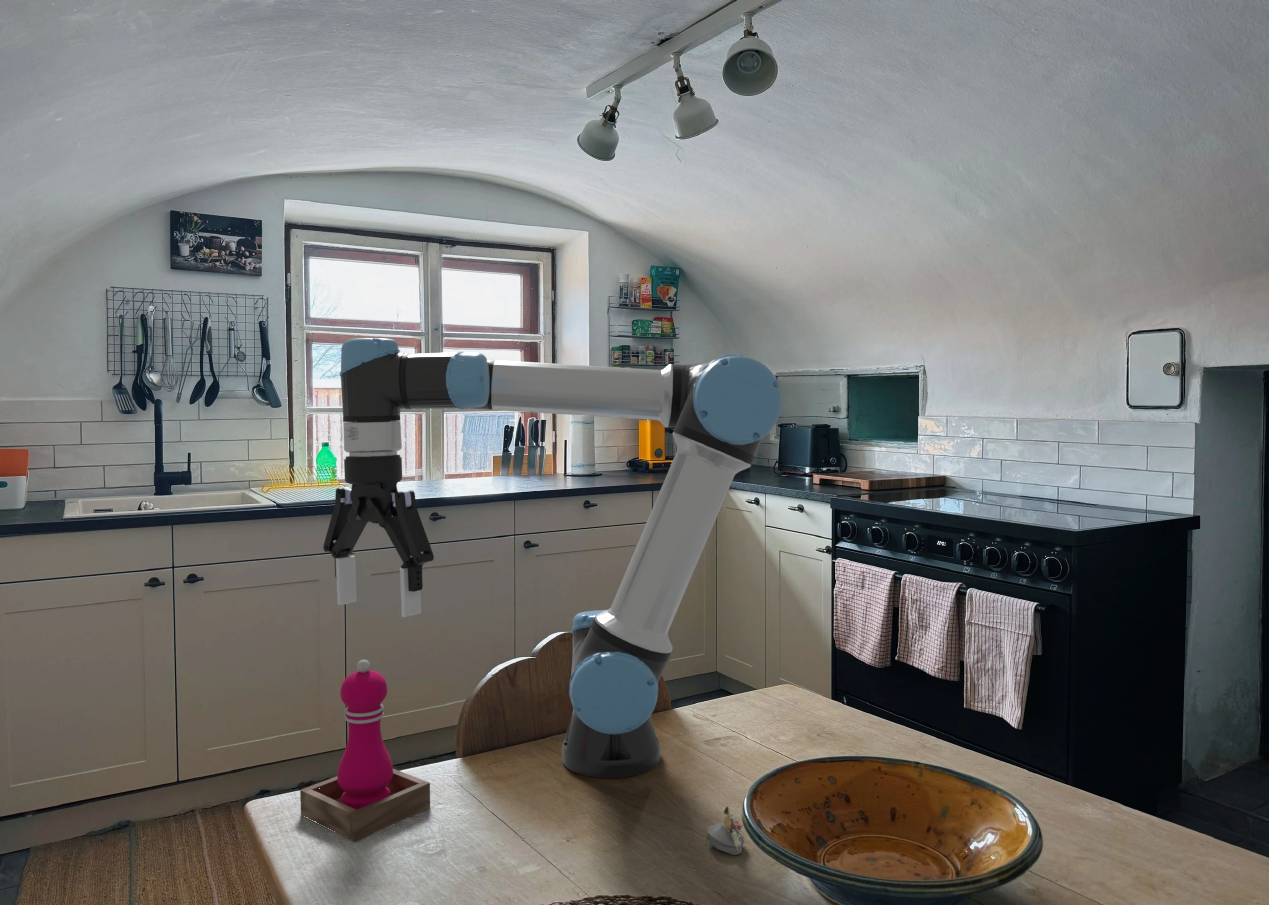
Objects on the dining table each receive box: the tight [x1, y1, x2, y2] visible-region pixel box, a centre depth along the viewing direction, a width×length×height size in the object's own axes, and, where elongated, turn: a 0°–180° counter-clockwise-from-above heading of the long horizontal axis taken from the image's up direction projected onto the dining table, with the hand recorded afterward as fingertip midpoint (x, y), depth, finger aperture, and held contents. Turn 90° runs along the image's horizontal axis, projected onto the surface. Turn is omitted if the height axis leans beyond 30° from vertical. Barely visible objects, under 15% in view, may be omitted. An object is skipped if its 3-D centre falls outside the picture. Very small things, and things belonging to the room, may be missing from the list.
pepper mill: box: [336, 659, 394, 810], centre depth 121 cm, size 7×7×20 cm
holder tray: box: [299, 768, 431, 843], centre depth 122 cm, size 12×12×4 cm
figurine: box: [705, 806, 745, 856], centre depth 111 cm, size 5×4×6 cm
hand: (378, 609), depth 123 cm, fingers open, 13 cm apart
